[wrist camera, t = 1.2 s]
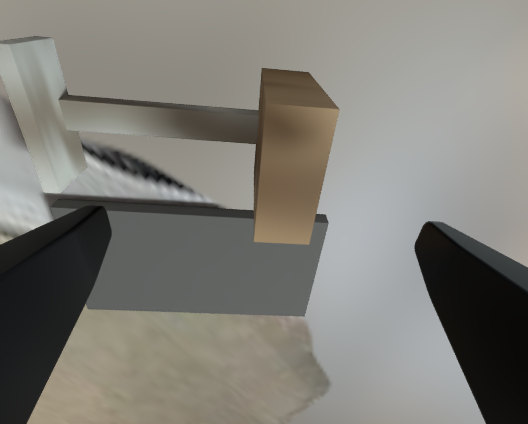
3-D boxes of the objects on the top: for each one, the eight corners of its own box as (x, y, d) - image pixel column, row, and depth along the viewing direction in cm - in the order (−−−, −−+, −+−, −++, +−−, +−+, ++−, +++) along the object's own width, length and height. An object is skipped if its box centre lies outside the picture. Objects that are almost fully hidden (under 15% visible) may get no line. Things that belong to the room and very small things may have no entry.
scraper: (291, 180, 20) (307, 252, 14) (73, 166, 19) (-8, 237, 13) (310, 61, 16) (342, 93, 10) (35, 36, 15) (-106, 55, 9)
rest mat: (303, 306, 27) (304, 316, 26) (93, 299, 25) (88, 309, 25) (325, 214, 21) (328, 223, 20) (58, 199, 20) (50, 207, 19)
